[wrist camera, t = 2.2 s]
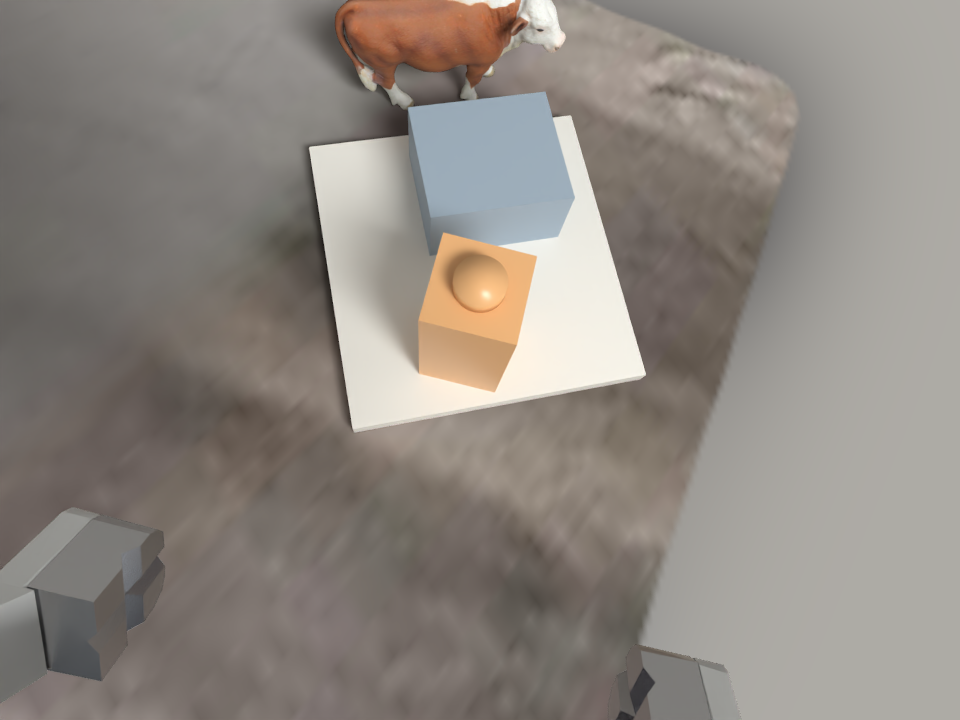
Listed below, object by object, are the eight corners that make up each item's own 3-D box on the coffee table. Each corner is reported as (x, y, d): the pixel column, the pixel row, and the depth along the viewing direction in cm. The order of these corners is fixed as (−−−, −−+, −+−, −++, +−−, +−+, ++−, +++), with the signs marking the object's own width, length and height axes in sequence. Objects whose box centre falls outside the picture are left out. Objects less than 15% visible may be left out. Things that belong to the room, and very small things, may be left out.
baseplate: (354, 432, 35) (352, 429, 34) (311, 156, 40) (309, 146, 39) (640, 379, 37) (645, 374, 36) (567, 125, 42) (570, 115, 41)
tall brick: (494, 392, 35) (519, 339, 26) (418, 373, 35) (418, 313, 26) (511, 321, 37) (540, 248, 28) (438, 303, 37) (443, 223, 28)
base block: (429, 255, 37) (430, 217, 33) (409, 155, 39) (407, 107, 35) (557, 236, 39) (574, 197, 34) (532, 140, 40) (545, 91, 36)
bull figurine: (547, 119, 42) (576, 22, 34) (345, 112, 41) (327, 10, 33) (543, 66, 44) (570, -40, 36) (347, 58, 42) (330, -53, 34)
